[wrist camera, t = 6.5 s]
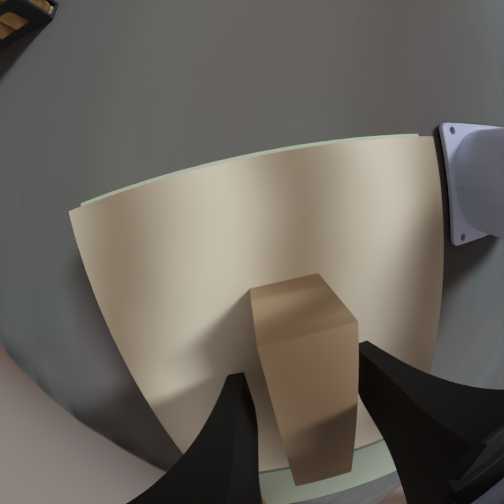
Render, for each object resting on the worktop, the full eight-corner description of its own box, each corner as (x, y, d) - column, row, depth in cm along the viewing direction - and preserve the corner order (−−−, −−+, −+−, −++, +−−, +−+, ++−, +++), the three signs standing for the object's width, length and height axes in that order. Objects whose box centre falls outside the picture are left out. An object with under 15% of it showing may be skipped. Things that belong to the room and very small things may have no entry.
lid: (418, 138, 9) (497, 129, 5) (409, 413, 13) (438, 459, 9) (81, 208, 9) (4, 229, 5) (201, 464, 13) (198, 520, 9)
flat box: (375, 142, 13) (431, 131, 8) (378, 431, 19) (398, 469, 14) (119, 196, 13) (67, 206, 8) (231, 467, 19) (232, 510, 14)
